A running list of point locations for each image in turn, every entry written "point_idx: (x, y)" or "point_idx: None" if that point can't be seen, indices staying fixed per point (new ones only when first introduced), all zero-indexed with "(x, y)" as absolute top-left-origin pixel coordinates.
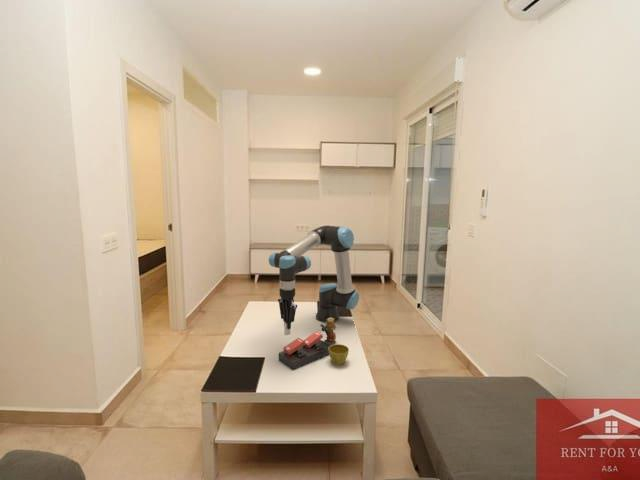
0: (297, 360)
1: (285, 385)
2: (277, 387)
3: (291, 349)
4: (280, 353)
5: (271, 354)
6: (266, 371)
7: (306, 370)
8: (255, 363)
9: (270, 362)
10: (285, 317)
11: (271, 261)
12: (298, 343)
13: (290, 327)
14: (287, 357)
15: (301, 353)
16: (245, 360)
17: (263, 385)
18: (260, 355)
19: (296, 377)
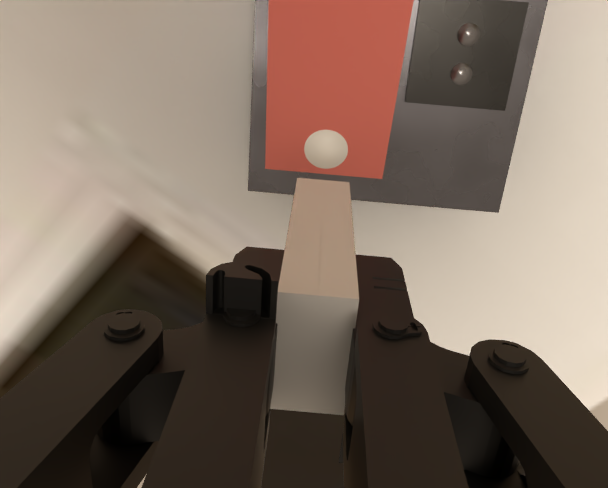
0: (506, 156)
1: (571, 350)
2: None
3: (381, 141)
4: (269, 185)
5: (123, 144)
6: None
7: (577, 99)
8: (175, 322)
9: (239, 236)
10: (260, 465)
11: None
12: (380, 9)
13: (399, 281)
14: (384, 188)
15: (443, 21)
16: None
17: None
18: (82, 224)
19: (573, 234)
